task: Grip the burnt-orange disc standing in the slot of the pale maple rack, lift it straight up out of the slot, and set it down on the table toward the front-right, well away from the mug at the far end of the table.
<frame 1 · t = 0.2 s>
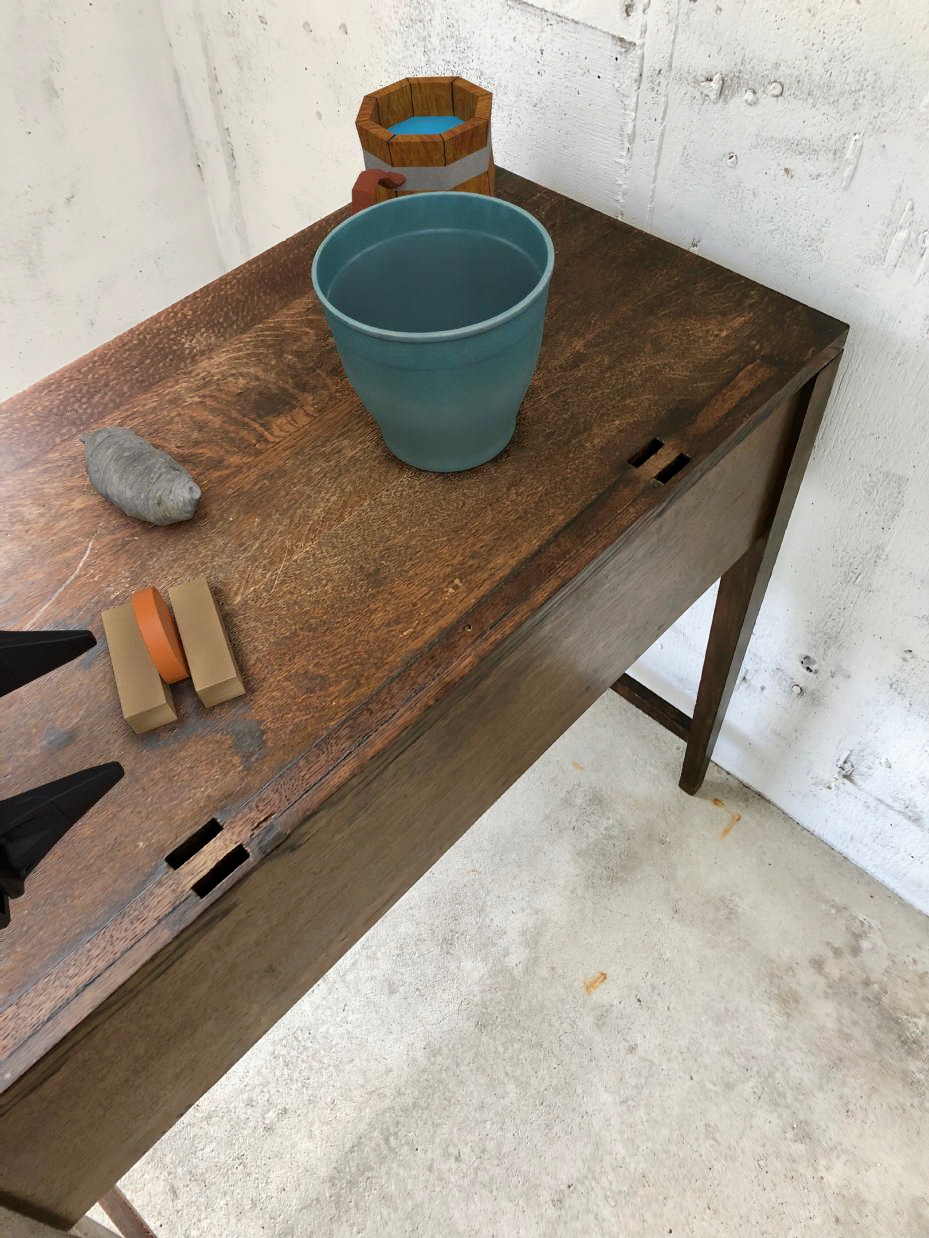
hand: (107, 698, 48), 14 cm above the table, tool horizontal, fingers open, 9 cm apart
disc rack: (177, 661, 66), on the table
disc: (178, 661, 66), on the table
grey sweet potato: (146, 500, 76), on the table
flower pot: (450, 431, 79), on the table
mug: (424, 270, 93), on the table
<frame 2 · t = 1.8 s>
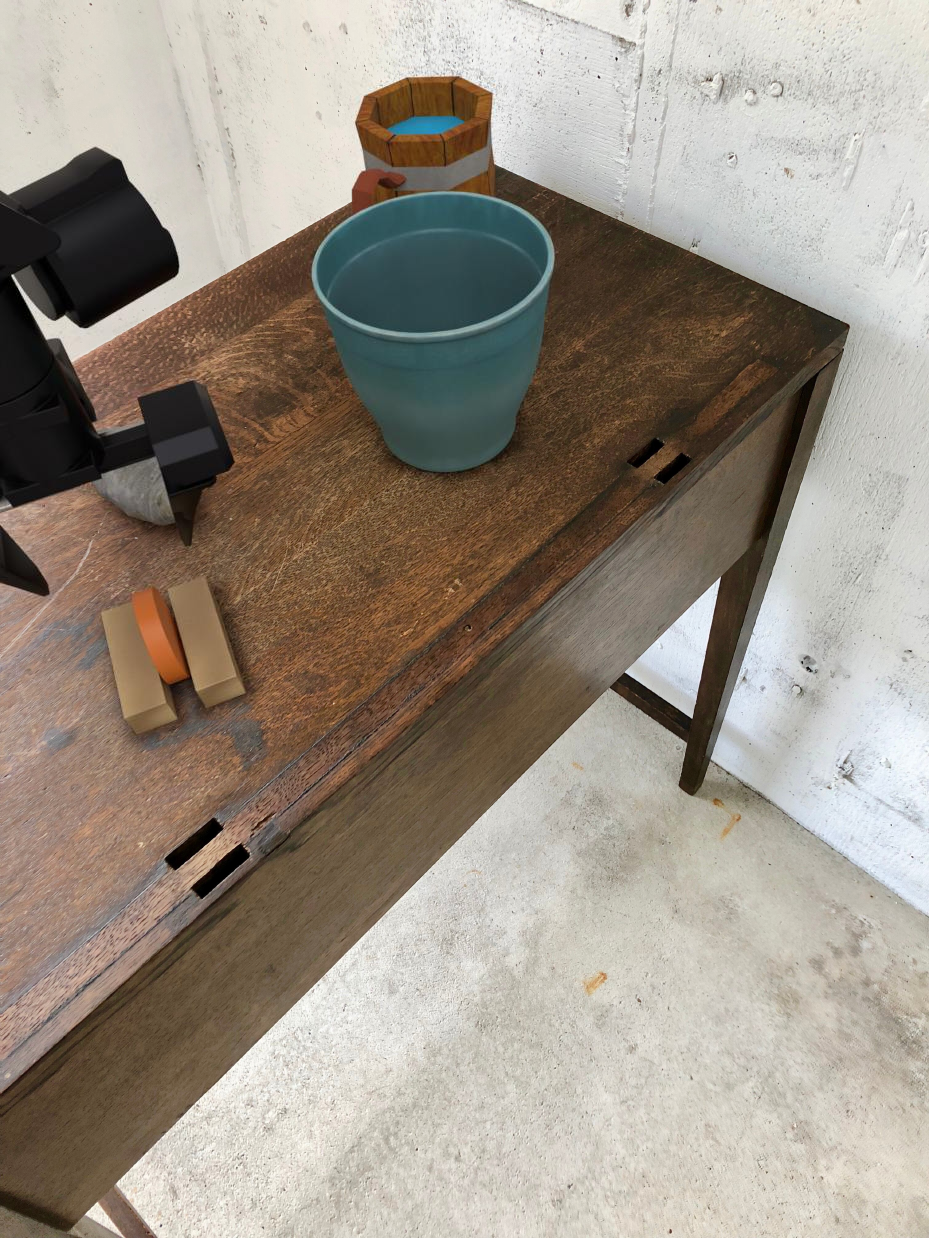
hand: (117, 565, 56), 12 cm above the table, tool pointing down, fingers open, 9 cm apart
nothing on the table moved.
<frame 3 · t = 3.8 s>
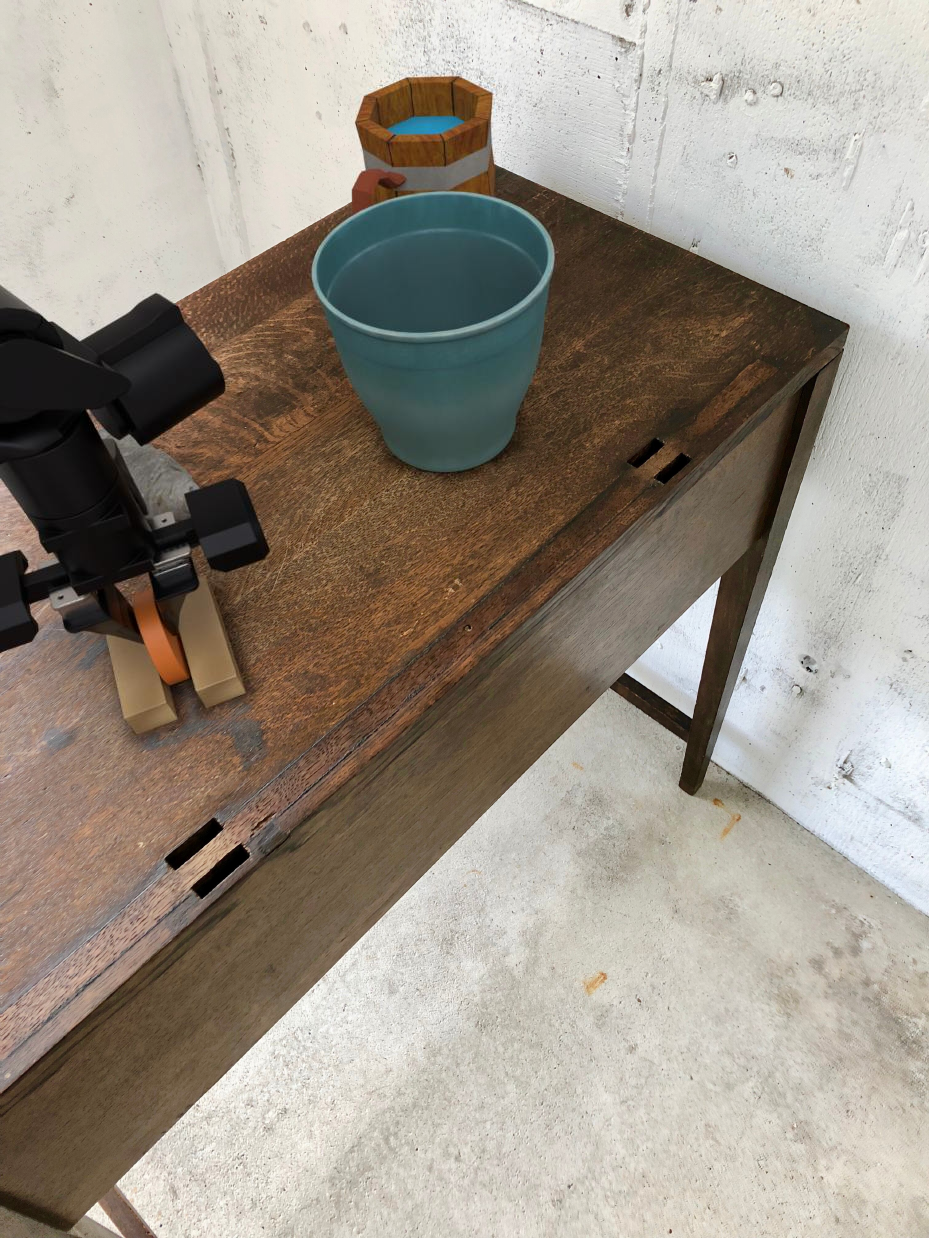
hand: (161, 635, 63), 4 cm above the table, tool pointing down, fingers closed on disc, 1 cm apart
disc: (177, 661, 66), on the table, touching gripper
everything else where it was.
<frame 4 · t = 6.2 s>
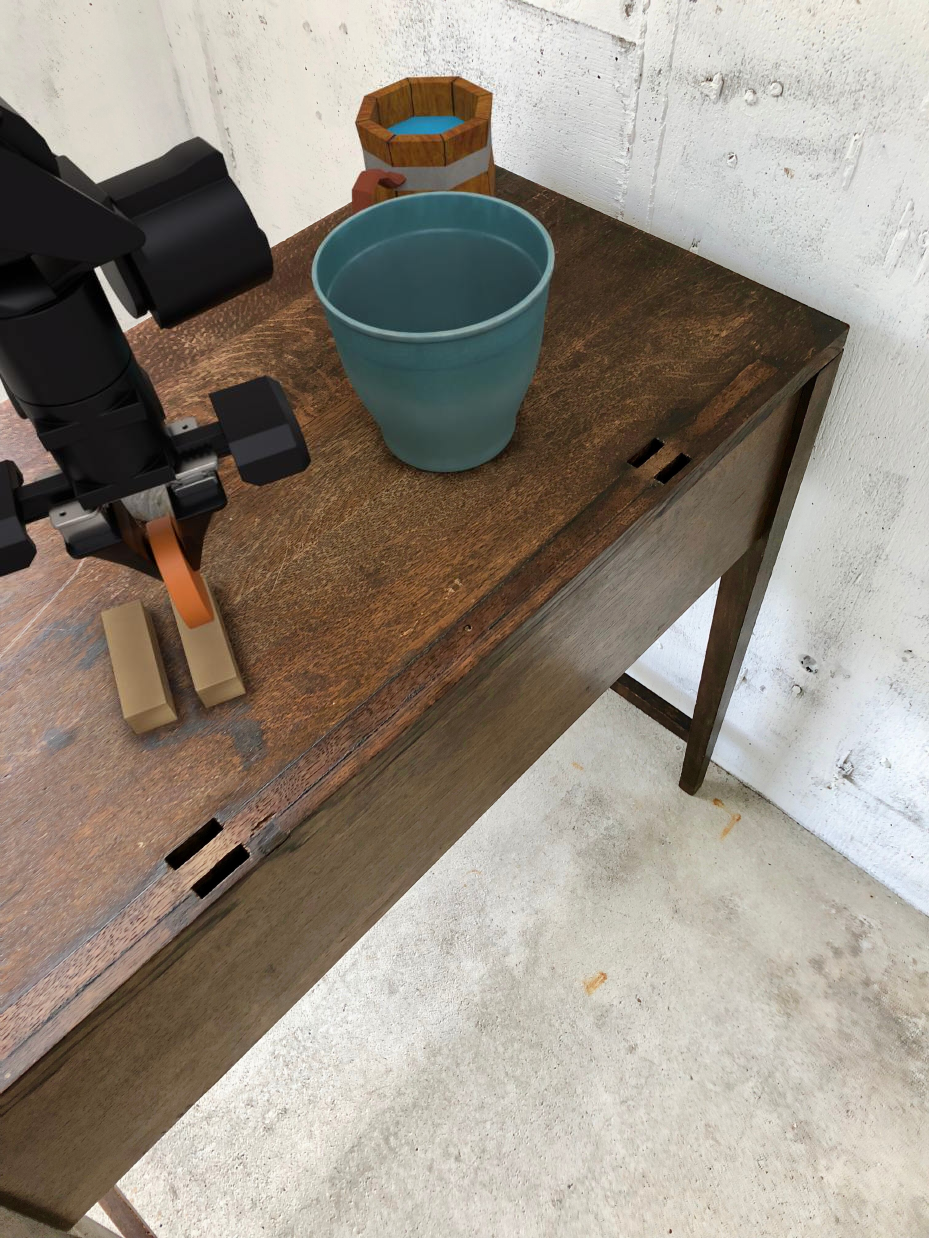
hand: (181, 570, 54), 13 cm above the table, tool pointing down, fingers closed on disc
disc: (198, 603, 57), point 10 cm above the table, touching gripper
everything else where it was.
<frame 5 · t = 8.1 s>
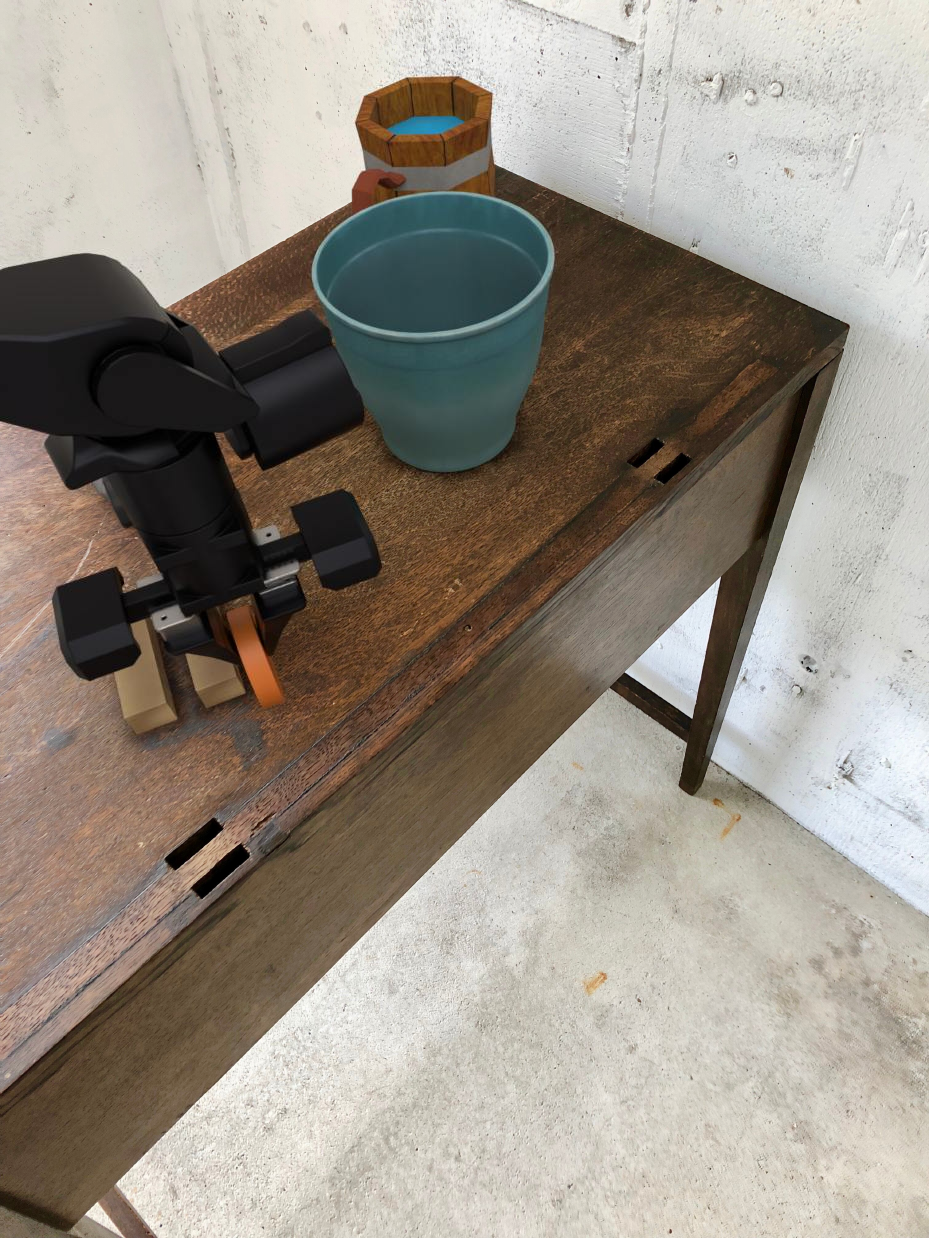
hand: (256, 655, 59), 5 cm above the table, tool pointing down, fingers closed on disc, 1 cm apart
disc: (268, 681, 62), point 2 cm above the table, touching gripper
everything else where it was.
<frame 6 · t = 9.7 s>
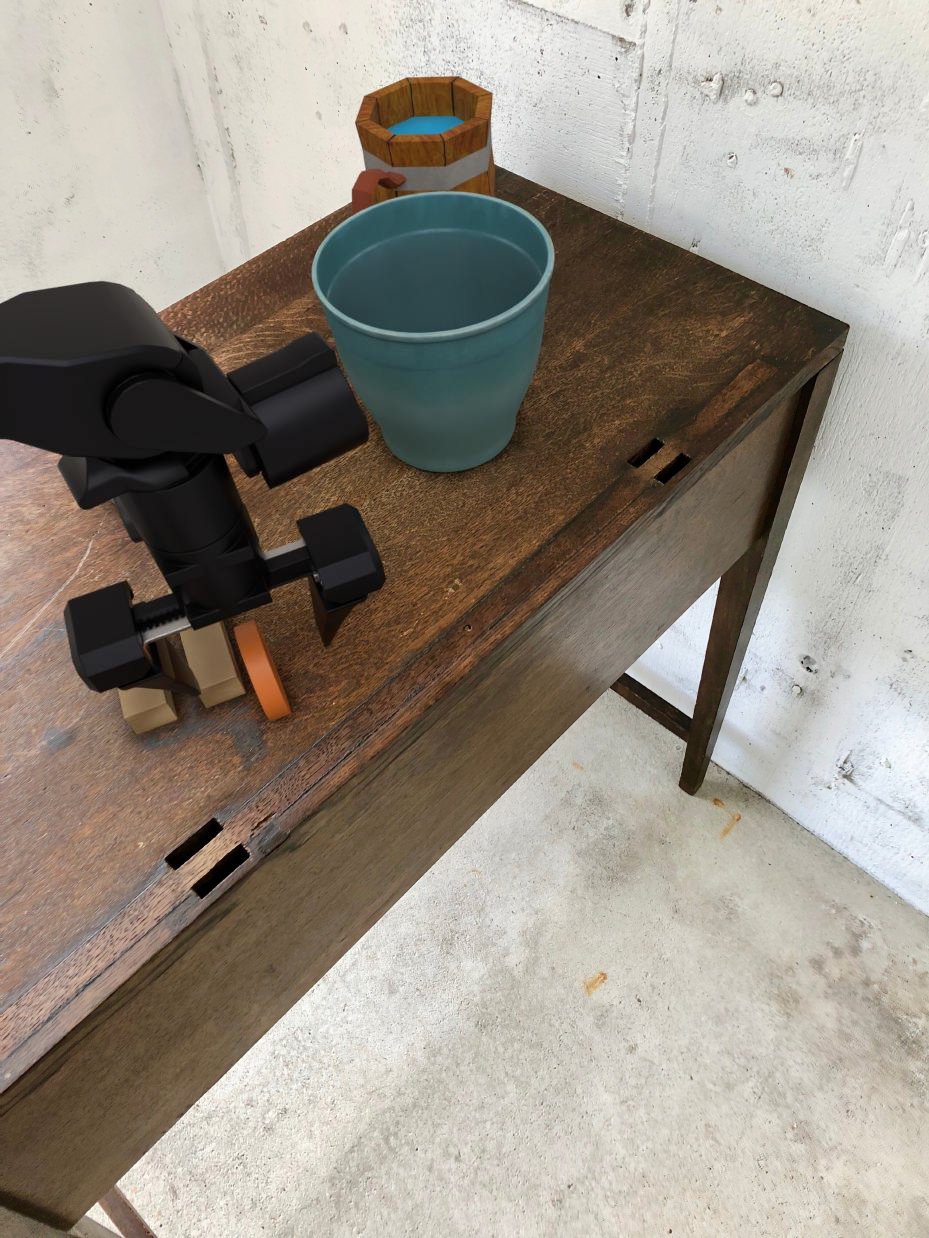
hand: (262, 665, 60), 4 cm above the table, tool pointing down, fingers open, 9 cm apart
disc: (274, 694, 64), on the table
everything else where it was.
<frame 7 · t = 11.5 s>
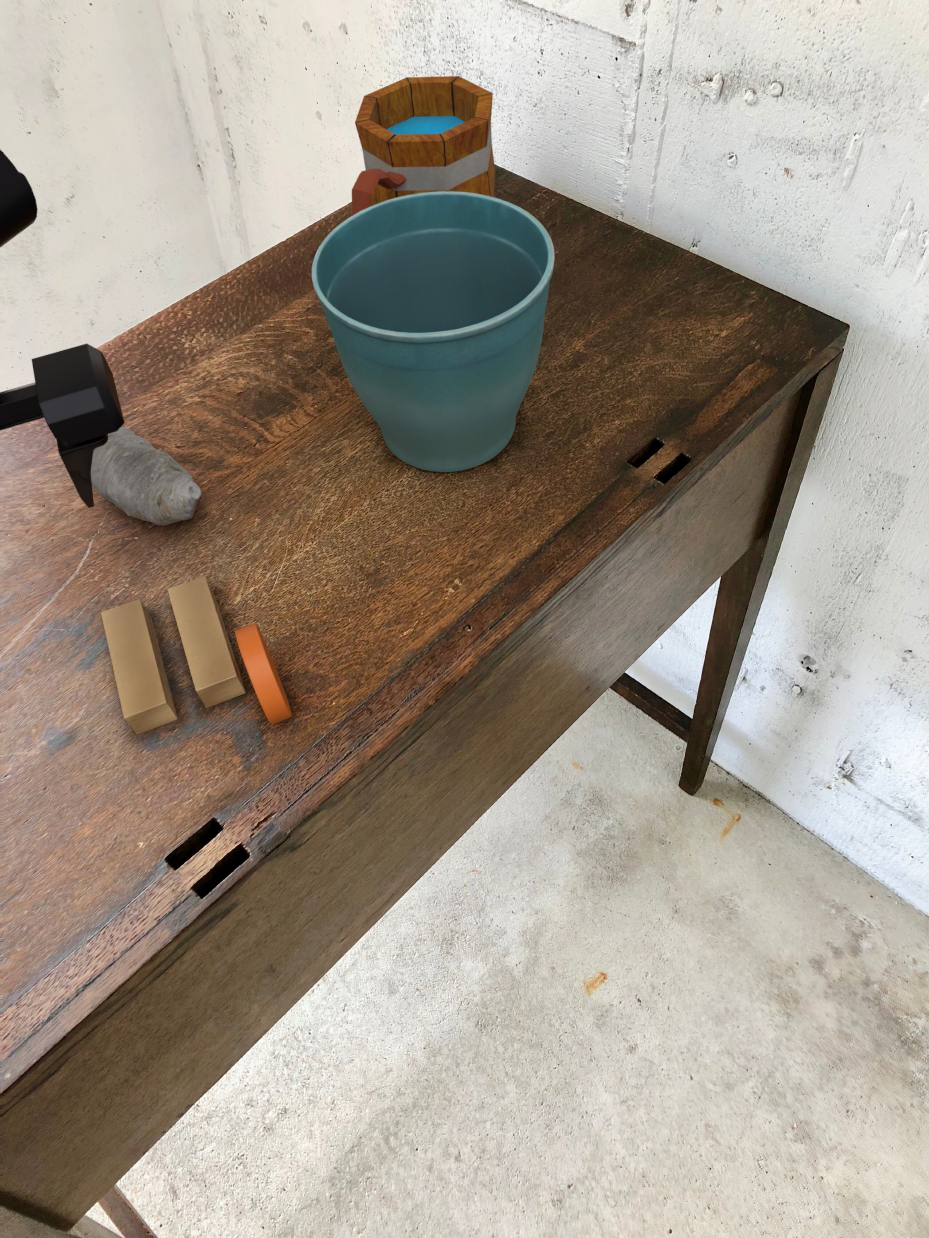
hand: (22, 524, 59), 12 cm above the table, tool pointing down, fingers open, 9 cm apart
nothing on the table moved.
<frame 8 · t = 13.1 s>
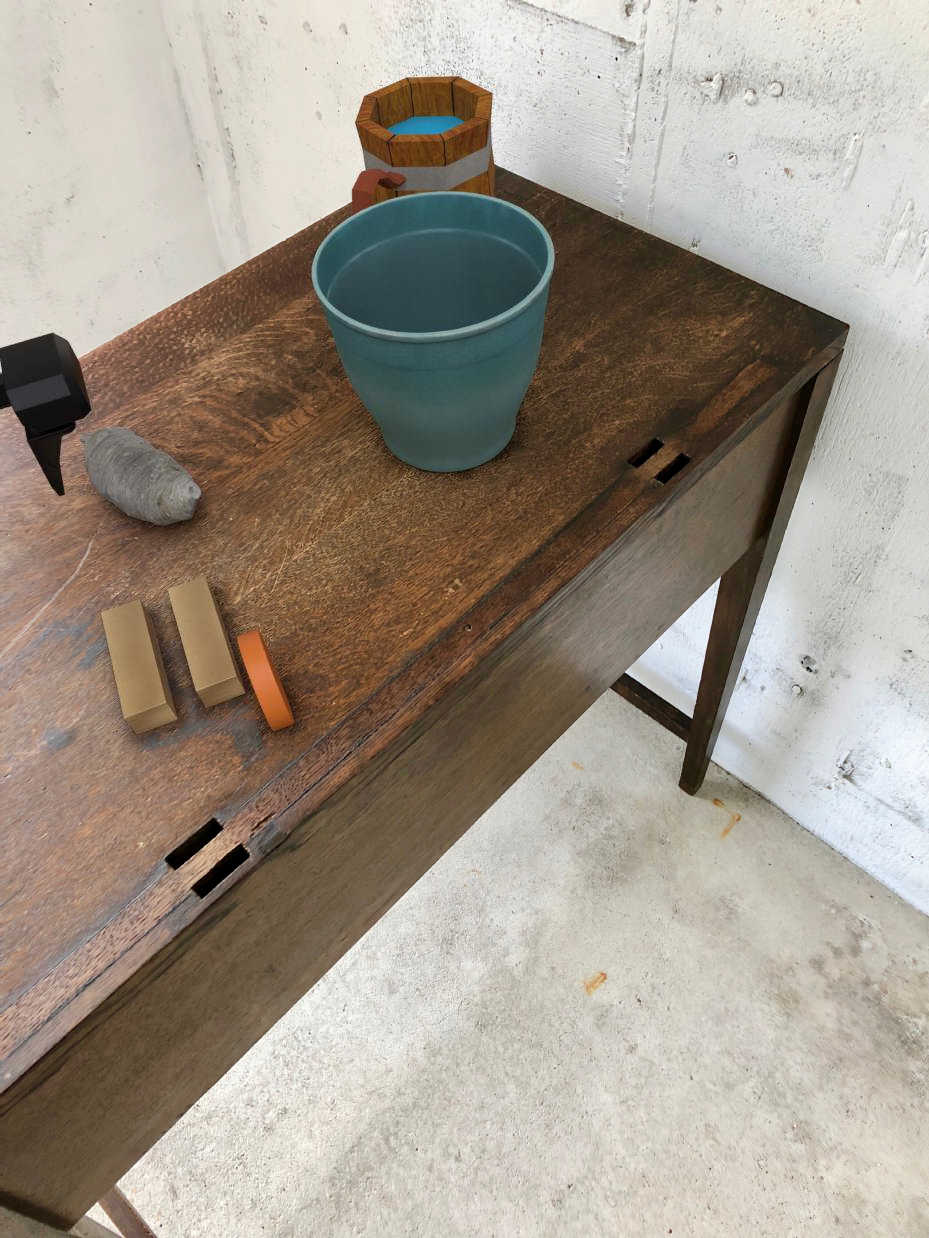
disc: (274, 693, 64), on the table, tilted 16°
everything else where it was.
at the end: disc inside the target area (1.7 cm from its centre), on the table; disc touching table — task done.
